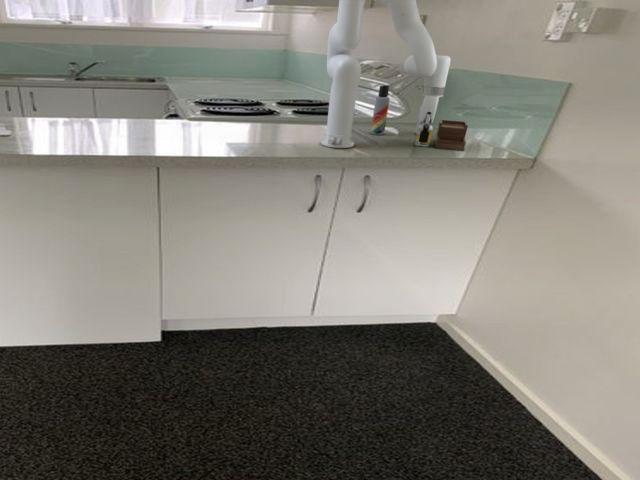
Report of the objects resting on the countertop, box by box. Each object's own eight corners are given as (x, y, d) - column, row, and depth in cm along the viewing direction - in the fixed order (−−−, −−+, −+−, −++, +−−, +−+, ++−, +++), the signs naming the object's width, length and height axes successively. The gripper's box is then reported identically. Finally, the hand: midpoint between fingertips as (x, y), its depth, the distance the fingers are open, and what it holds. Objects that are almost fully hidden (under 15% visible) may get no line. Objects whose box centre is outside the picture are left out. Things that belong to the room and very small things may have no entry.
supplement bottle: (412, 144, 167) (417, 119, 162) (419, 143, 170) (424, 118, 165) (424, 147, 163) (429, 121, 159) (431, 145, 166) (437, 120, 162)
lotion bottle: (376, 135, 181) (384, 86, 172) (367, 133, 186) (374, 84, 176) (386, 134, 183) (394, 85, 174) (377, 132, 188) (385, 84, 179)
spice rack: (463, 151, 159) (469, 128, 155) (435, 148, 162) (440, 125, 158) (461, 143, 172) (466, 121, 168) (435, 140, 175) (439, 119, 171)
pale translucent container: (426, 134, 187) (432, 105, 182) (426, 136, 183) (432, 107, 178) (414, 133, 188) (420, 105, 183) (414, 135, 184) (420, 106, 179)
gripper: (422, 89, 165) (413, 135, 174) (422, 93, 151) (412, 143, 159) (443, 90, 163) (433, 137, 172) (444, 94, 149) (433, 145, 157)
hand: (423, 140), depth 165 cm, fingers open, 5 cm apart
